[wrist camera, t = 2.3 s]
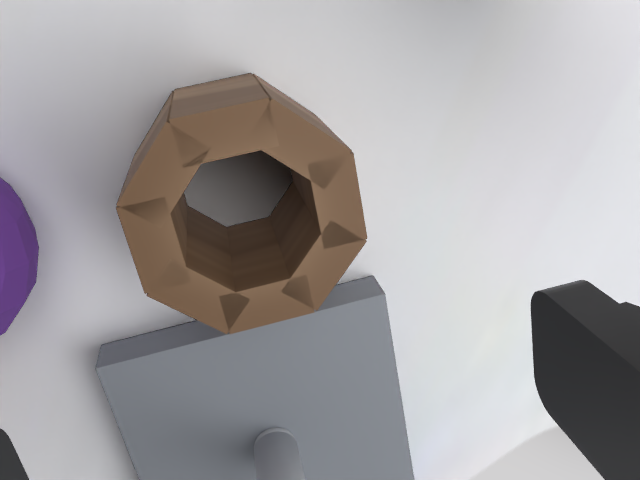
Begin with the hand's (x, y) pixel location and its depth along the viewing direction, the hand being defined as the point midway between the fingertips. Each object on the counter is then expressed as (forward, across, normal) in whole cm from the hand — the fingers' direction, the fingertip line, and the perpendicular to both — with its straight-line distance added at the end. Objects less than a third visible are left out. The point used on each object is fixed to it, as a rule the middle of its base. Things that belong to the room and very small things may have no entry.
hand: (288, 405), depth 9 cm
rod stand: (+12, +1, +10) cm, 16 cm away
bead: (+12, 0, 0) cm, 12 cm away
